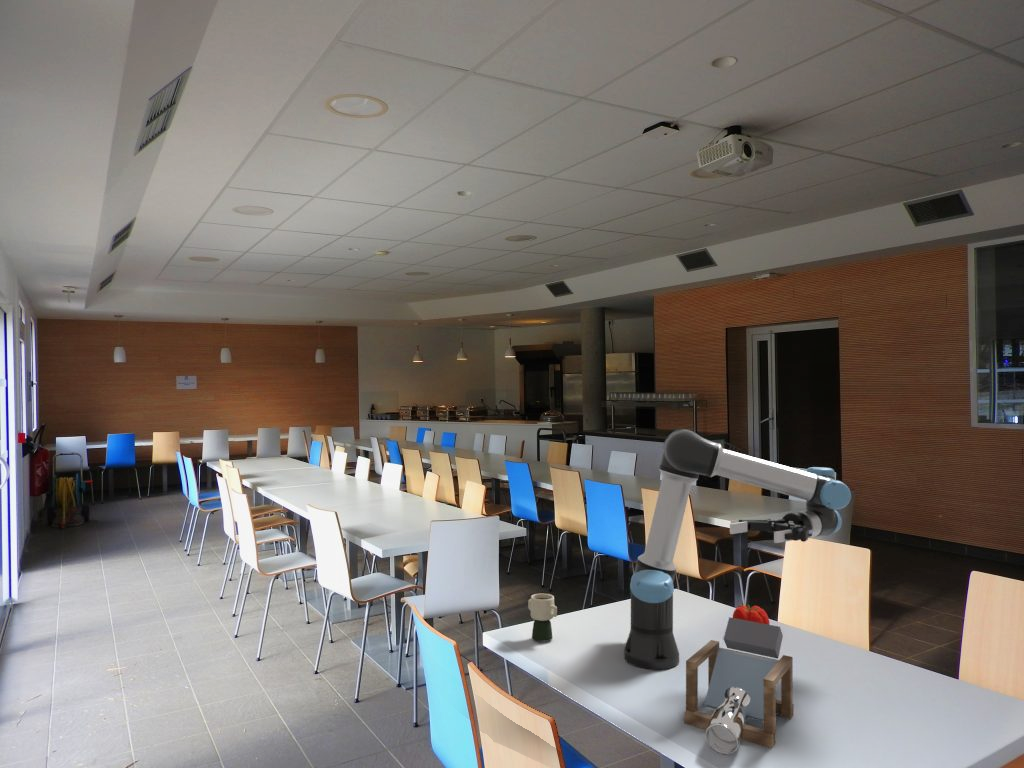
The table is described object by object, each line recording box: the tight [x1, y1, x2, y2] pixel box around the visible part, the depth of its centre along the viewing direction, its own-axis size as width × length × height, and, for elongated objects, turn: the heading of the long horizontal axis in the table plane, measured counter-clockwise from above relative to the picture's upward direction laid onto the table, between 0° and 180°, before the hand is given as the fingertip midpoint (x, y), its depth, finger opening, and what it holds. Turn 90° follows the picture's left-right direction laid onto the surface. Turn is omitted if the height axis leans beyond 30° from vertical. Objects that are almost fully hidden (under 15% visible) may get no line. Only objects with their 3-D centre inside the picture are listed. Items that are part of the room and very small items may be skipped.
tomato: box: [732, 604, 771, 625], centre depth 213 cm, size 11×11×9 cm
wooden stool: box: [683, 639, 795, 749], centre depth 157 cm, size 19×19×14 cm
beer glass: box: [705, 687, 752, 756], centre depth 147 cm, size 7×7×15 cm
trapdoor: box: [704, 617, 784, 723], centre depth 161 cm, size 14×22×4 cm
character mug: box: [527, 593, 558, 642], centre depth 207 cm, size 11×7×13 cm, turn 48°
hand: (752, 533), depth 180 cm, fingers open, 13 cm apart
